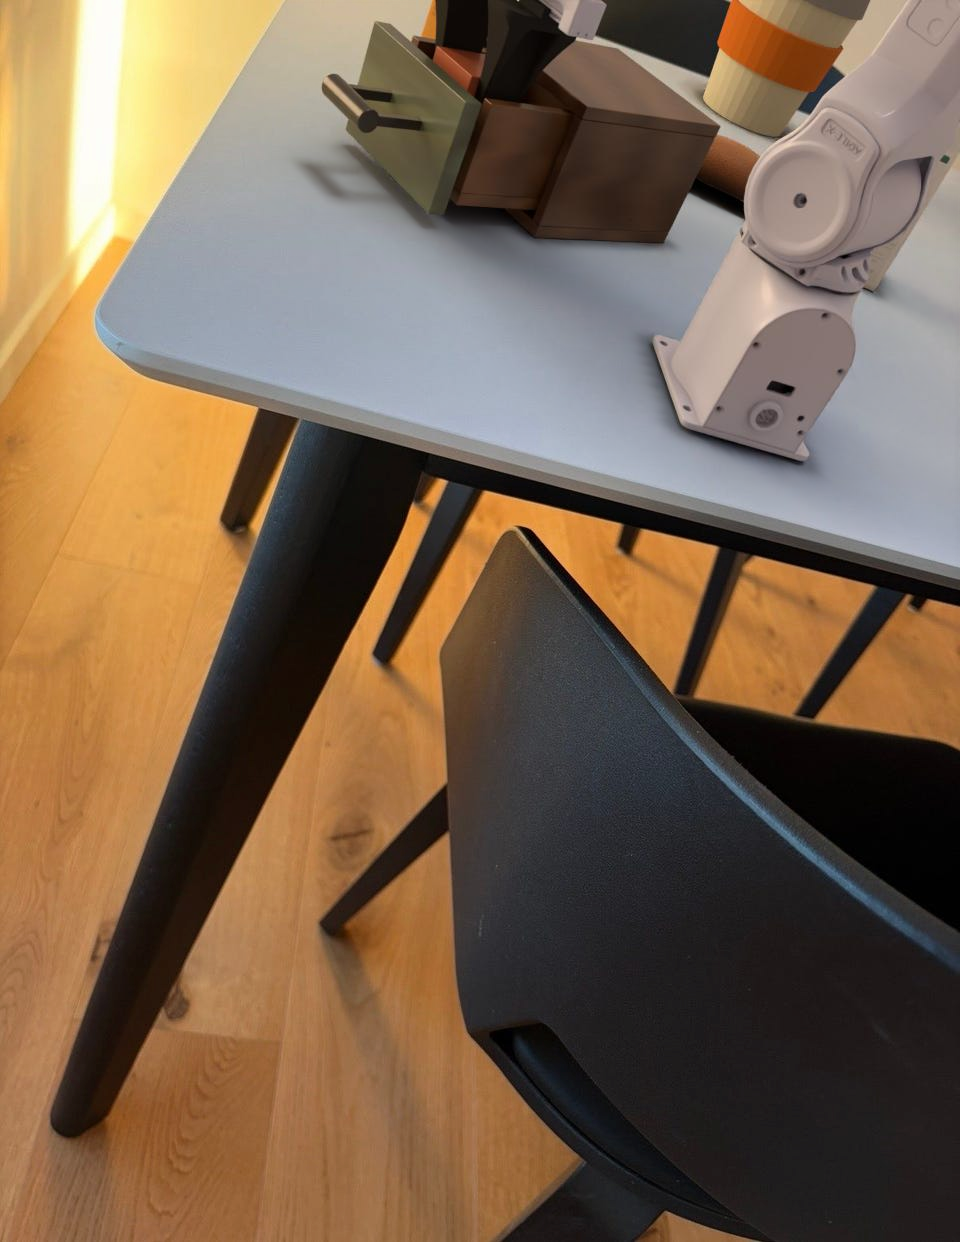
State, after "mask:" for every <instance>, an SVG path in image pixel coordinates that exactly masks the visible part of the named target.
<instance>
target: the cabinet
mask: <svg viewBox="0 0 960 1242" xmlns="http://www.w3.org/2000/svg"><path fill="white" fill-rule="evenodd" d="M487 39H488V37H487ZM486 47H487V40H486V42H485V44H484V47H483V48H486ZM535 81H536V82H538V83H539V84H540V85H541V86H542V87H544V88H545V89H546V90H547V91H549V92H550V93H551V94H552V95H553V96H555V97H556V98H557V99H558V100H559V101H561V102H562V103H563V104H564V105H565V106H567V107H568V108H569V109H570V110H571V111H573V112H574V113H575V115H574V118H573V120H572V123H571V125H570V128H569V130H568V133H567V135H566V138H565V140H564V143H563V145H562V148H561V150H560V153H559V155H558V158H557V160H556V163H555V165H554V168H553V170H552V173H551V175H550V178H549V180H548V183H547V185H546V188H545V190H544V193H543V195H542V198H541V200H540V203H539V205H538V208H537V210H526V209H511V208H503V209H504V210H505V211H506V212H507V213H508V214H509V215H510V216H511V217H512V218H513V219H515V220H516V222H518V223H519V224H520V225H521V226H522V227H523V228H524V229H525V230H526V232H528V233H530V235H531V236H533V238H540V239H541V238H545V239H567V240H568V239H569V240H590V241H591V240H592V241H593V240H594V241H614V242H638V243H639V242H640V243H660V244H662V243H663V244H664V243H665V242H666V240H667V238H668V236H669V232H670V231H671V229H672V228H673V225H674V223H675V221H676V219H677V217H678V215H679V213H680V210H681V209H682V207H683V205H684V202H685V201H686V199H687V196H688V194H689V192H690V191H691V188H692V186H693V184H694V182H695V180H696V179H697V178H696V176H697V174H698V172H699V170H700V168H701V166H702V164H703V162H704V160H705V158H706V155H707V153H708V151H709V149H710V147H711V145H712V143H713V141H714V139H715V138H714V137H716V135H718V133H719V131H720V129H721V125H720V124H718V122H716V121H715V120H713V119H712V118H711V117H710V116H708V115H707V114H705V113H704V112H703V111H701V110H700V109H699V108H697V107H696V106H695V105H693V104H692V103H691V102H690V101H688V100H687V99H686V98H684V97H682V95H680V94H679V93H678V92H676V91H675V90H674V89H672V88H671V87H670V86H668V85H667V84H665V82H663V81H662V80H660V79H659V78H658V77H656V76H655V75H653V73H651V72H649V71H648V70H647V69H646V68H645V67H643V66H642V65H641V64H639V63H638V62H637V61H635V60H634V59H632V58H631V57H630V56H628V55H627V54H626V53H624V51H622V50H621V49H620V48H618V47H612V46H611V47H610V46H608V45H603V44H602V45H601V44H597V43H592V42H586V41H582V40H577V39H576V40H575V42H573V43H572V44H571V45H569V46H568V47H567V48H566V49H565V50H563V51H562V52H561V53H560V54H559V55H558V56H557V57H556V58H555V59H553V60H552V61H551V62H550V63H549V64H548V65H547V66H546V67H545V69H544V70H543V71H542V72H541V73H540V74H539V75H538V76H537V78H536V79H535Z"/></svg>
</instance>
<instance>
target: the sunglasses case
mask: <svg viewBox="0 0 960 1242" xmlns="http://www.w3.org/2000/svg"><path fill="white" fill-rule="evenodd" d="M714 138H715V139H714V141H713V143H712V145H711V147H710V149H709V151H708V153H707V155H706V158H705V160H704V162H703V164H702V166H701V168H700V170H699V172H698V174H697V176H696V178H695V179H697V180H698V181H699V182H702V183H704V184H705V185H707V186H709V187H712V188H714V189H716V190H718V191H720V192H722V193H725V194H727V195H729V196H731V197H732V198H735V199H737V200H739V201H741V202H743V203H744V196H745V190H746V185H747V182H748V178H749V176H750V174H751V171H752V169H753V167H754V165H755V164H756V162H757V161H758V159H759V158H760V156H761V155H759V154H758V153H756V152H755V151H754V150H752V149H751V148H749V146H746V145H744V144H743V143H741V142H739V141H736V140H734V139H733V138H729V137H728V136H725V135H721V134H717V135H716V137H714Z"/></svg>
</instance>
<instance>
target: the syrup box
mask: <svg viewBox="0 0 960 1242" xmlns="http://www.w3.org/2000/svg"><path fill="white" fill-rule="evenodd" d="M959 155H960V120H959V124H958V128H957V132H956V136H955V139H954V142H953V144H952V145H951V147H950V148H949V149H948V151H947V152H946V153H945V154H944V156H943V157H942V158H941V160H940V161H939V163H938V164H937V166H936V168H935V169H934V171H933V173H932V176H931V179H930V181H929V185H928V190H927V194H926V198H925V202H924V205H923V207H922V209H921V212H920V213H919V215H918V217H917V219H916V220H915V222H914V223H913V224H912V225H911V227H910V228H909V229H908V230H907V231H906V232H905V233H904V234H903V235H902V236H900V237H899V238H897V239H896V240H894V241H893V242H891V243H889V244H886V245H884V246H881V247H878V248H874V249H873V252H872V253H871V257H872V258H871V264H870V271H869V273H868V276H869V278H868V280H867V281H866V283H865V285H864V286H863V289H867V290H869V291H871V292H874V291H875V290H876V289H877V288H878V286H879V284H880V283H881V281H882V279H883V278H884V276H885V275H886V273H887V272H888V270H889V268H890V267H891V266H892V264H893V262H894V260H895V259H896V257H898V254H900V253H899V252H900V251H901V250H902V248H903V247H904V245H905V243H906V241H907V240H908V238H909V236H910V235H911V234H912V232H913V230H914V228H915V227H916V226H917V223H918V222H919V220H921V217H922V215H923V214H924V212H925V210H926V209H927V208H928V205H930V203H931V201H932V200H933V197H934V196H935V195H936V193H937V191H938V190H939V188H940V186H941V184H942V183H943V181H944V179H945V178H946V176H947V174H948V173H949V172H950V169H951V168H952V166H953V165H954V163H955V161H956V160H957V158H958V157H959Z"/></svg>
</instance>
